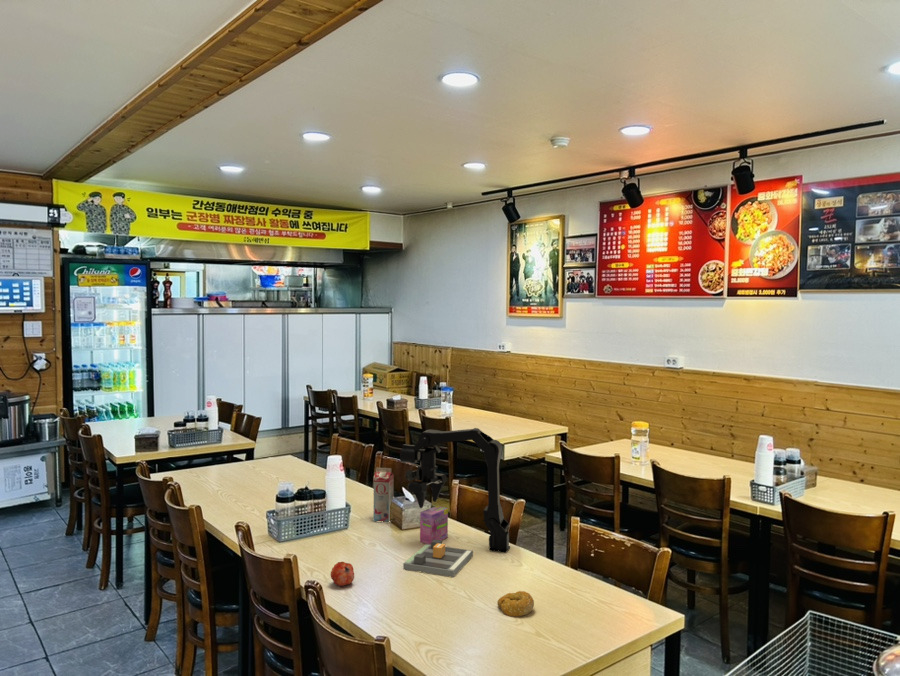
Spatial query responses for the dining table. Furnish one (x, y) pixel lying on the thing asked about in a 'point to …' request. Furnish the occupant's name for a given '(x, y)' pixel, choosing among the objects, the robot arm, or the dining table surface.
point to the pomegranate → (342, 573)
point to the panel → (438, 560)
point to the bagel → (516, 603)
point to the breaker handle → (439, 550)
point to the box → (433, 524)
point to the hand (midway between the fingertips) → (427, 504)
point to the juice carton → (383, 493)
